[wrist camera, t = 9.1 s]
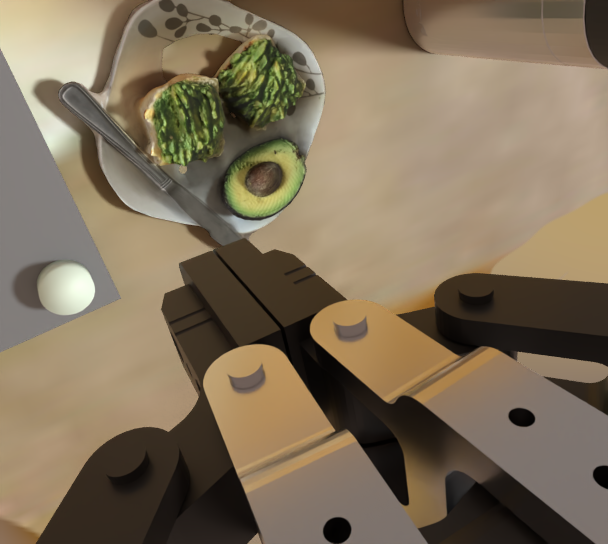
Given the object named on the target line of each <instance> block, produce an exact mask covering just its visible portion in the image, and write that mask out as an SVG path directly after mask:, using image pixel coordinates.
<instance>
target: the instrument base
mask: <svg viewBox="0 0 608 544" xmlns="http://www.w3.org/2000/svg"><path fill="white" fill-rule="evenodd" d="M118 299H121V297H120V295H119V293H118V291H117V289H116V287H115V285H114V283H113V281H112V279H111V276H110V274H109V272H108V270H107V268H106V266H105V264H104V262H103V260H102V258H101V256H100V254H99V252H98V250H97V248H96V245H95V243H94V241H93V239H92V237H91V235H90V233H89V231H88V229H87V227H86V225H85V223H84V221H83V219H82V217H81V214H80V212H79V210H78V208H77V206H76V204H75V202H74V200H73V198H72V196H71V194H70V192H69V190H68V188H67V186H66V183H65V181H64V179H63V177H62V175H61V173H60V171H59V169H58V167H57V165H56V163H55V161H54V159H53V157H52V155H51V152H50V150H49V148H48V146H47V144H46V142H45V140H44V138H43V136H42V134H41V132H40V130H39V128H38V126H37V124H36V121H35V119H34V117H33V115H32V113H31V111H30V109H29V107H28V105H27V103H26V101H25V99H24V97H23V95H22V92H21V90H20V88H19V86H18V84H17V82H16V80H15V78H14V76H13V74H12V72H11V70H10V68H9V66H8V64H7V61H6V59H5V57H4V55H3V53H2V51H1V49H0V352H2V351H4V350H6V349H9V348H11V347H13V346H15V345H18V344H20V343H22V342H24V341H27V340H29V339H31V338H33V337H36V336H38V335H40V334H42V333H44V332H47V331H49V330H51V329H53V328H56V327H58V326H60V325H62V324H65V323H67V322H69V321H71V320H74V319H76V318H78V317H80V316H83V315H85V314H87V313H89V312H92V311H94V310H96V309H98V308H100V307H103V306H105V305H107V304H109V303H112V302H114V301H116V300H118Z"/></svg>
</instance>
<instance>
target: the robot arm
mask: <svg viewBox="0 0 608 544" xmlns="http://www.w3.org/2000/svg"><path fill="white" fill-rule="evenodd" d="M403 2H404V15H405V21H406V24H407V27H408V30H409V32H410V34H411V36H412V38H413V39H414V41H415V42H416V43H417V44H418V45H419V46H420V47H421V48H422V49H424V50H426V51H428V52H429V53H434V54H441V55H452V56H464V57H472V58H484V59H495V60H507V61H518V62H530V63H541V64H553V65H564V66H578V67H590V68H601V69H608V0H403ZM179 268H180V271H181V275H182V278H183V280H184V283H185V286H183V287H180V288H178V289H175V290H173V291H170V292H168V293H165V295H164V299H163V304H162V308H161V310H162V312H163V315H164V318H165V320H166V323H167V325H168V328H169V331H170V333H171V336H172V338H173V341H174V344H175V346H176V349H177V351H178V354H179V357H180V359H181V362H182V364H183V367H184V368H185V370H186V372H187V374H188V376H189V378H190V380H191V382H192V384H193V386H194V388H195V390H196V392H197V393H198V396H199V398H198V401H197V403H196V405H195V406H194V408H193V409H192V411H191V412H190V413H189V414H188V415H187V417H186V418H185V419H184V420H182V421H181V422H180V423H179V424H178V425H177V426H175V427H174V428H173V429H172V430H171V431H169V432H167V431H165V430H163V429H159V428H154V427H143V428H137V429H133V430H130V431H126V432H124V433H122V434H119V435H117V436H116V437H114V438H112V439H110V440H109V441H107V442H106V443H105V444H103V445H102V446H101V447H100V448H99V449H97V450H96V451H95V452H94V453H93V455H92V456H91V457H90V458H89V459H88V461H87V462H86V463H85V465H84V466H83V468H82V470H81V471H80V473H79V475H78V476H77V478H76V479H75V481H74V483H73V484H72V486H71V487H70V489H69V491H68V492H67V494H66V496H65V497H64V499H63V500H62V502H61V504H60V505H59V507H58V509H57V510H56V512H55V513H54V515H53V517H52V518H51V520H50V521H49V523H48V525H47V526H46V528H45V530H44V531H43V533H42V534H41V536H40V538H39V540H38V541H37V543H36V544H247V543H248V542H249V541H250V540H251V539H252V538H253V537H254V536H255V535H256V534H257V533H258V535H259V538H260V540H261V543H262V544H608V376H607V377H606V378H605V379H604V380H602V381H600V382H596V383H582V382H576V381H569V380H563V379H556V378H549V377H543V376H541V375H539V374H537V373H536V372H534V371H532V370H530V369H529V368H527V367H526V366H524V365H522V364H521V363H519V362H517V351H518V352H525V353H532V354H539V355H547V356H555V357H561V358H569V359H577V360H583V361H591V362H597V363H600V364H603V365H606V366H608V284H606V283H594V282H580V281H569V280H557V279H544V278H532V277H519V276H506V275H494V274H481V273H472V274H463V275H459V276H455V277H452V278H450V279H448V280H446V281H444V282H443V283H442V284H440V285H439V286H438V288H437V289H436V291H435V294H434V300H435V307H431V308H427V309H422V310H418V311H413V312H409V313H404V314H398V315H395V314H393V313H392V312H390V311H389V310H387V309H386V308H384V307H383V306H381V305H379V304H377V303H375V302H372V301H367V300H347V299H346V298H344V297H343V296H342V295H341V294H340V293H339V292H337V291H336V290H335V289H334V288H333V287H331V286H330V285H329V284H328V283H327V282H325V281H324V280H323V279H322V278H321V277H319V276H318V275H317V276H316V274H315V272H314V271H312V270H311V269H310V268H309V267H306V265H305V264H304V263H303V262H302V261H300V260H299V259H298V258H297V257H296V256H295V255H293V254H289V253H286V252H282V251H279V250H275V249H274V250H272V251H269V252H267V253H264V254H262V253H261V252H260V251H259V250H258V249H257V248H256V247H255V246H253V245H252V244H251V243H250V242H249V241H248V240H247V239H246V238H243V239H240V240H237V241H235V242H232V243H230V244H227V245H224V246H222V247H219V248H217V249H214V250H213V252H212V251H209V252H207V253H204V254H202V255H199V256H196V257H194V258H191V259H189V260H186V261H183V262H181V263H179Z"/></svg>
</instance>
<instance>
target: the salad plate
mask: <svg viewBox="0 0 608 544" xmlns="http://www.w3.org/2000/svg"><path fill="white" fill-rule="evenodd" d="M196 34H211V35H212V34H217V35H221V36H224V37H228V38H231V39H234V40H237V41H240V42H242V43H243V44H242V45H240V46H239V47H238V48H237V49H236V50H235V51H234V52H233V53H232V55H231V56H230V57H229V58H228V59H227V60H226V61H225V62H224V63H223V64H222V66H221V67H220V68H219V70H218V71H217V73H216V74H215V75H214V76H213V77H212V78H209V77H206V76H202V75H197V74H180V75H178V76H176V77H174V78H172V79H171V80H170V81H166V80H165V79H164V77H163V74H162V71H163V70H162V54H163V49H164V48H165V47H167V46H169V45H170V44H172V43H173V42H175V41H177V40H179V39H181V38H186V37H189V36H193V35H196ZM58 96H59V99H60V102H61V103H62V104H63V105H64V106H65V107H66V108H67V109H68V110H70V111H71V112H72V113H73V114H74V115H75V116H77V117H78V118H79V119H80V120H82V121H83V122H84V123H85V124H86V125H87V126H88V127H89V128H90V129H91V130H92V132H93V133H94V136H95V138H96V146H97V148H98V150H97V152H98V159H99V165H100V166H101V169H102V171H103V173H104V175H105V176H106V178H107V180H108V182H109V184H110V185H111V187H112V188H113V190H114V191H115V192H116V194H117V195H118V196H119V198H120V199H121V200H122V201H123V202H124V203H125V204H126V205H127V206H128V207H130V208H131V209H133V210H135V211H138V212H140V213H143V214H146V215H148V216H151V217H155V218H159V219H165V220H170V221H174V222H179V223H183V224H189V225H196V226H200V227H202V228H205V229H206V230H207V231H208V232H209V234H210V236H211V237H212V238H213V239H214V240H215V241H217V242H218V243H219V244H221V245H222V246H224V245H227V244H230V243H232V242H235V241H237V240H240V239H243V238H246V239H247V240H248V241H249V236H250V235H251V234H252V233H253V232H255V231H256V230H258V229H260V228H262V227H264V226H266V225H267V224H269V223H270V222H272V221H273V220H274V219H276V218H277V217H278V216H279V215H280V213H281V212H282V211H283V210H284V209H285V208H286V207H287V206H288V205H289V204H290V203H291V202H292V201H293V199H294V198H295V197H296V195H297V194H298V192H299V190H300V188H301V186H302V184H303V181H304V178H305V174H306V165H305V160H306V158H307V156H308V152H309V148H310V146H311V144H312V142H313V139H314V135H315V132H316V130H317V127H318V124H319V121H320V118H321V114H322V110H323V107H324V103H325V83H324V78H323V74H322V71H321V69H320V67H319V64H318V62H317V60H316V58H315V55H314V53H313V52H312V50H311V49H310V47H309V46H308V45H307V44H306V42H304V41H303V40H302V39H300V38H299V37H298V36H297V35H296V34H294V33H293V32H291V31H289V30H287V29H286V28H284V27H282V26H280V25H278V24H276V23H275V22H272V21H269V20H267V19H264V18H261V17H259V16H257V15H255V14H253V13H251V12H249V11H247V10H244V9H242V8H239V7H237V6H235V5H233V4H232V3H230V2H229V1H224V0H148V1H147V2H145V3H143V4H141V5H138V6H137V7H136V8H135V9H133V11H132V13H131V14H130V16H129V18H128V20H127V22H126V24H125V27H124V30H123V34H122V37H121V41H120V42H119V44H118V47H117V50H116V54H115V56H114V60H113V65H112V69H111V74H110V76H109V79H108V80H107V82H106V85H105V87H104V89H103V91H102V92H100V93H94V92H91V91H89V90H88V89H87V88H86V87H84V86H83V85H82V84H80V83H76V82H69V83H66V84H65V85H63V86H62V87H61V89H60V90H59V92H58ZM230 113H234V114H235V115H236V118H233V117H232V116H231V114H230ZM181 164H182V165H183V166H187V172H186V173H185V174H182V173H180V171H179V167H180V165H181Z"/></svg>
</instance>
